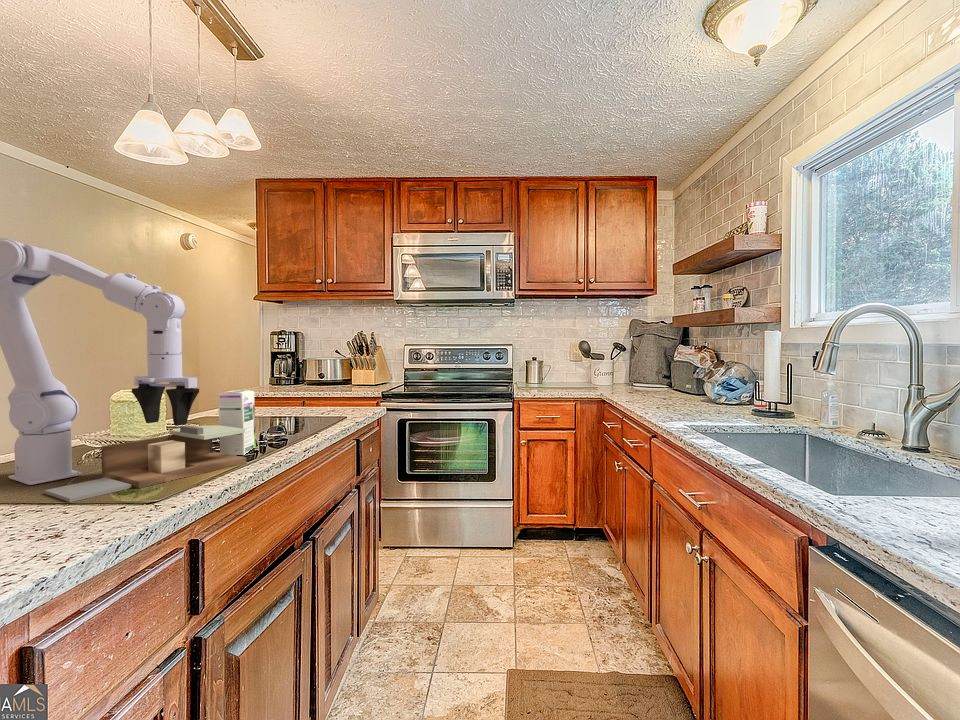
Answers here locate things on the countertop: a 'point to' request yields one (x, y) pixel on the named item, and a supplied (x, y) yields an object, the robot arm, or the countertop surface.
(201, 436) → the cover
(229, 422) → the syrup box
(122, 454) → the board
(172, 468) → the block
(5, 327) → the robot arm
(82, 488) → the mat
